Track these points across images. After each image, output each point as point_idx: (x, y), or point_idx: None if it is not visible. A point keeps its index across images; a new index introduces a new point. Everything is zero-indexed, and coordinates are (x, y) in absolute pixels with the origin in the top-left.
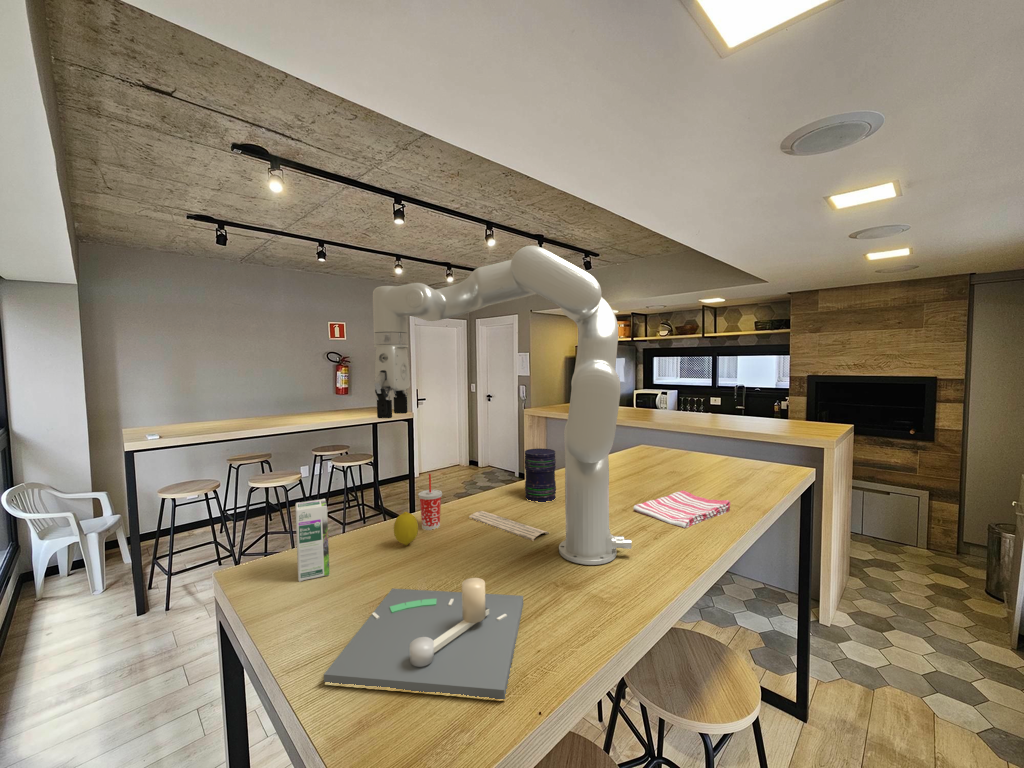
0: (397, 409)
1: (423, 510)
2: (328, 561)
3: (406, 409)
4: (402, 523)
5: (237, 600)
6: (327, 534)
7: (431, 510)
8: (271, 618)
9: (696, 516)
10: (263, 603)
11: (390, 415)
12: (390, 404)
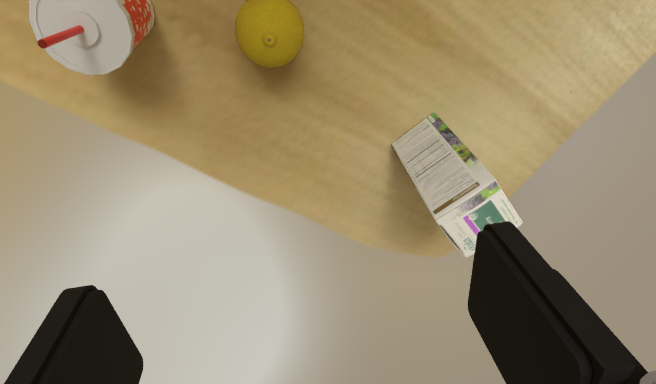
0: (122, 373)
1: (140, 32)
2: (443, 122)
3: (72, 313)
4: (299, 31)
5: (507, 192)
6: (465, 146)
7: (131, 1)
8: (563, 110)
9: None
10: (519, 152)
11: (515, 237)
12: (588, 319)
